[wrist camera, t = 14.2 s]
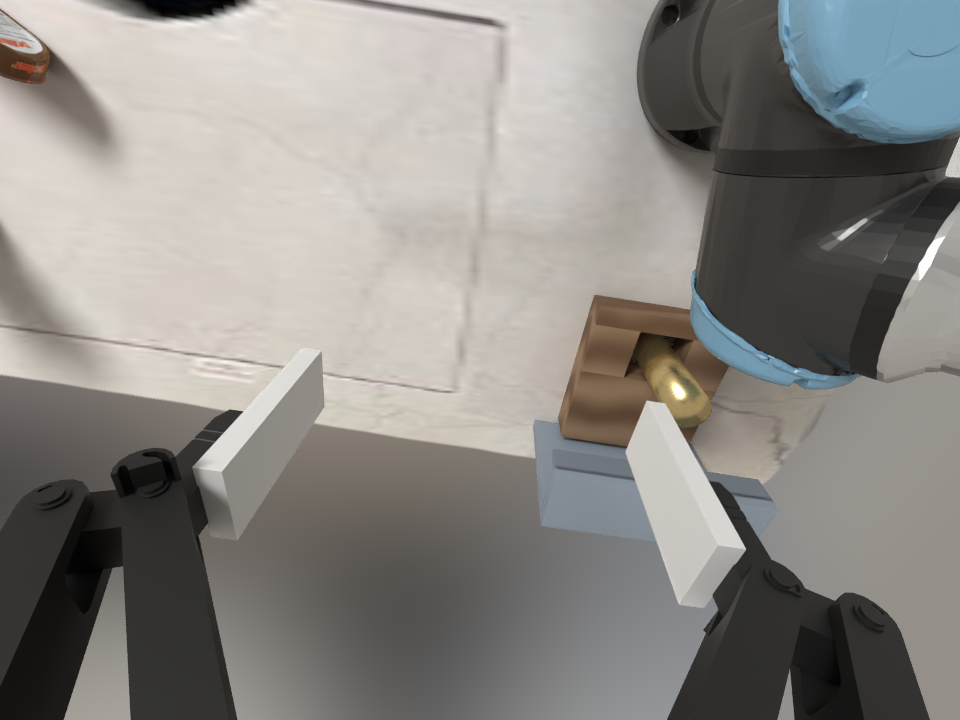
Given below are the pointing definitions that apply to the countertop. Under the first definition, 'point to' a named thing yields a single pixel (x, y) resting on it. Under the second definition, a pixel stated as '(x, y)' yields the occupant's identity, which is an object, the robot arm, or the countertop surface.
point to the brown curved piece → (21, 53)
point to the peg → (671, 380)
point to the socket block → (626, 369)
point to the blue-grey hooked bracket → (614, 488)
